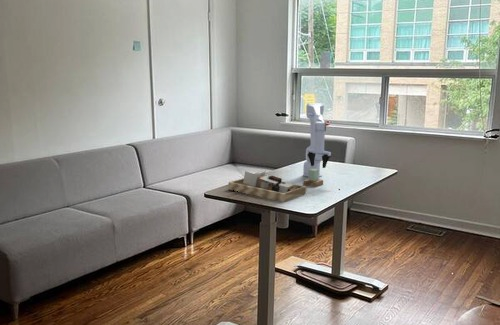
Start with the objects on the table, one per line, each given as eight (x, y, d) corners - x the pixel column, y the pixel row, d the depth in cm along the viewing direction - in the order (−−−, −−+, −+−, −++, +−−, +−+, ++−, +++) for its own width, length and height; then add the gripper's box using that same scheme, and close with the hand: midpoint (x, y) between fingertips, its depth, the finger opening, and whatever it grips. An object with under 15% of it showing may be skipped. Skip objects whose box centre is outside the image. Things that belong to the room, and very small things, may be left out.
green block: (308, 180, 269) (308, 169, 267) (312, 179, 272) (312, 168, 270) (314, 181, 266) (314, 170, 265) (318, 180, 269) (318, 169, 268)
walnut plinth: (303, 185, 269) (303, 180, 268) (311, 182, 275) (311, 177, 274) (315, 187, 264) (315, 182, 263) (323, 185, 270) (323, 180, 269)
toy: (300, 198, 252) (251, 183, 266) (303, 181, 250) (253, 166, 263) (290, 204, 242) (240, 187, 255) (293, 186, 239) (242, 170, 252)
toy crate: (228, 189, 256) (228, 182, 256) (252, 182, 272) (252, 176, 271) (283, 202, 234) (284, 194, 233) (306, 193, 249) (306, 186, 248)
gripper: (304, 142, 268) (303, 166, 271) (326, 145, 259) (325, 169, 262) (311, 140, 273) (310, 164, 276) (333, 143, 264) (332, 167, 267)
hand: (318, 166), depth 269 cm, fingers open, 7 cm apart
